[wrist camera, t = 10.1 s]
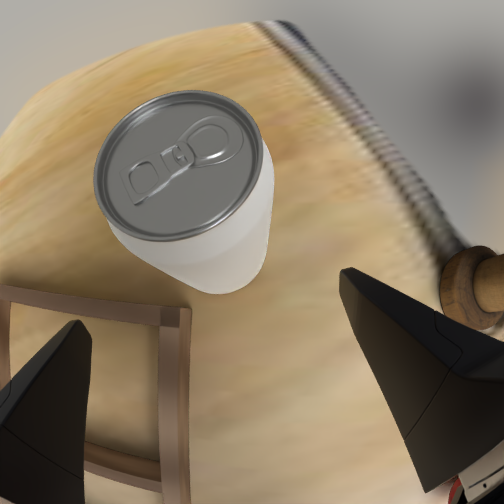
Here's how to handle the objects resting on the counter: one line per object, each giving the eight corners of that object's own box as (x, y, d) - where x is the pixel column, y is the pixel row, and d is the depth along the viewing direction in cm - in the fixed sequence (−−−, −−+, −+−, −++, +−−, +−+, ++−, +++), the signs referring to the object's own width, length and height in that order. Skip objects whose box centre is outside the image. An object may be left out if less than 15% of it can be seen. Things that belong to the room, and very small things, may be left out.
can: (285, 262, 20) (321, 181, 8) (202, 313, 19) (124, 300, 7) (235, 188, 21) (214, 59, 9) (158, 234, 20) (66, 144, 9)
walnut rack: (194, 548, 14) (187, 568, 11) (23, 486, 15) (8, 494, 12) (192, 309, 19) (180, 307, 16) (4, 285, 20) (-17, 280, 17)
